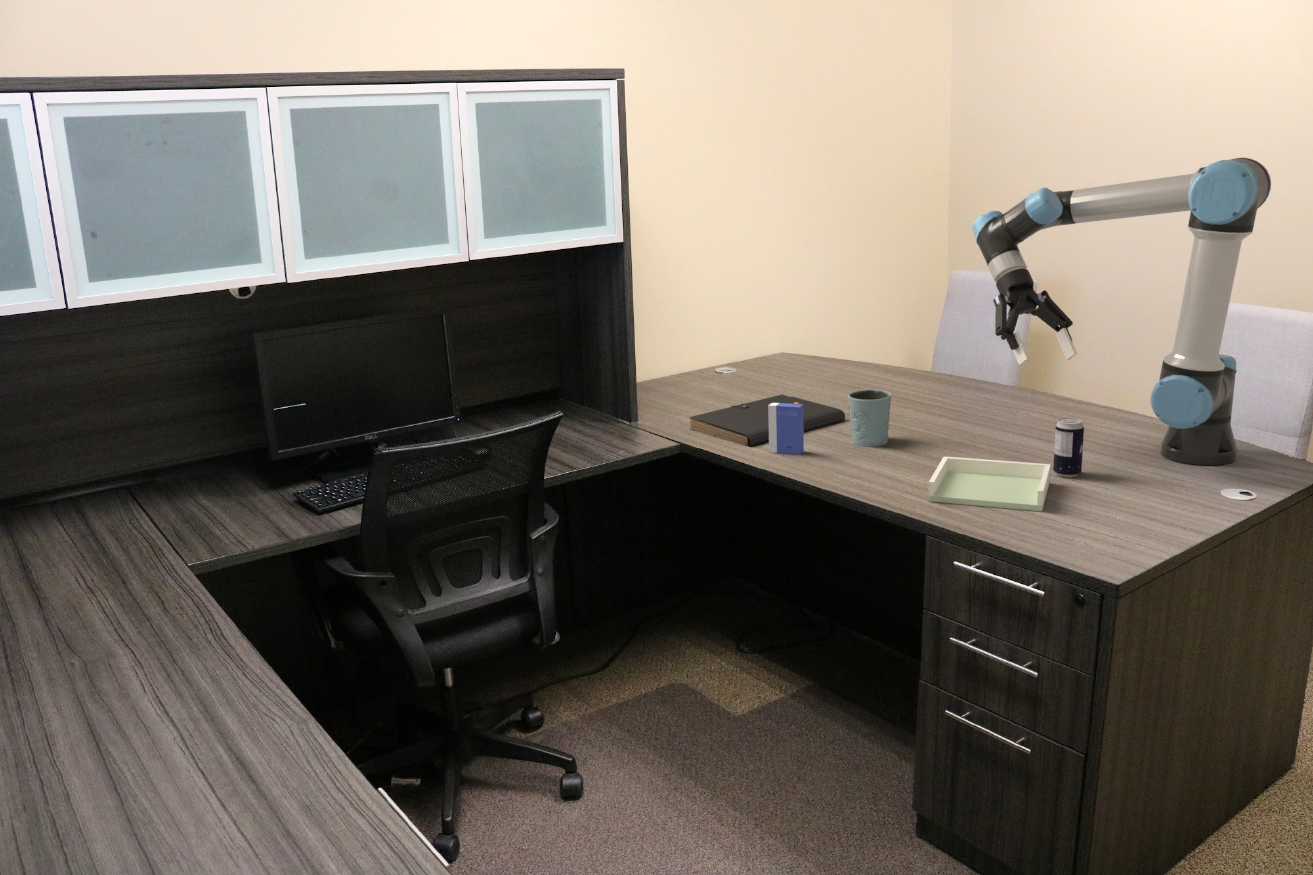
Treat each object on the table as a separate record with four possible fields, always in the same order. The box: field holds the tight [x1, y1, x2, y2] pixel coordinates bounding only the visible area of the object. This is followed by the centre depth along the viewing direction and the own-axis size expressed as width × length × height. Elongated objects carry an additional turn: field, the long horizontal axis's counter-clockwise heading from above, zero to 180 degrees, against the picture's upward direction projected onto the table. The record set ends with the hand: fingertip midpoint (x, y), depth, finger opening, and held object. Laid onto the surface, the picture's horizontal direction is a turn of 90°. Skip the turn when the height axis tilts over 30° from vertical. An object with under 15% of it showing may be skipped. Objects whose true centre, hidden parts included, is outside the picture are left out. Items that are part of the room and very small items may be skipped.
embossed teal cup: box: [847, 388, 892, 448], centre depth 263 cm, size 10×10×12 cm
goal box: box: [927, 456, 1052, 512], centre depth 225 cm, size 22×18×4 cm
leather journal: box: [688, 394, 846, 447], centre depth 284 cm, size 33×4×24 cm
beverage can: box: [1052, 417, 1085, 478], centre depth 232 cm, size 6×6×12 cm
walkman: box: [768, 403, 805, 455], centre depth 258 cm, size 8×3×12 cm, turn 66°
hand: (1048, 359), depth 235 cm, fingers open, 13 cm apart
